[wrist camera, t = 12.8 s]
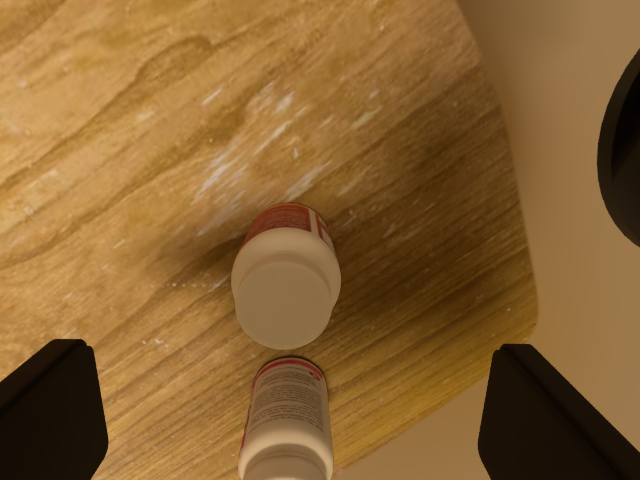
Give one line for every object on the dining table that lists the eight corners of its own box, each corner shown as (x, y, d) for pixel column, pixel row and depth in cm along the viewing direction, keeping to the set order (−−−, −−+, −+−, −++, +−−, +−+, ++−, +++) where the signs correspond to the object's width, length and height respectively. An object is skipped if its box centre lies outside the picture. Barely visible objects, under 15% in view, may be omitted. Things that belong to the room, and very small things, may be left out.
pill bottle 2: (239, 373, 24) (207, 496, 16) (306, 343, 24) (309, 454, 16) (273, 428, 25) (260, 567, 17) (338, 400, 25) (355, 530, 17)
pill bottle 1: (234, 255, 22) (194, 329, 14) (273, 185, 21) (255, 221, 13) (304, 293, 23) (306, 383, 15) (346, 227, 22) (372, 286, 14)
